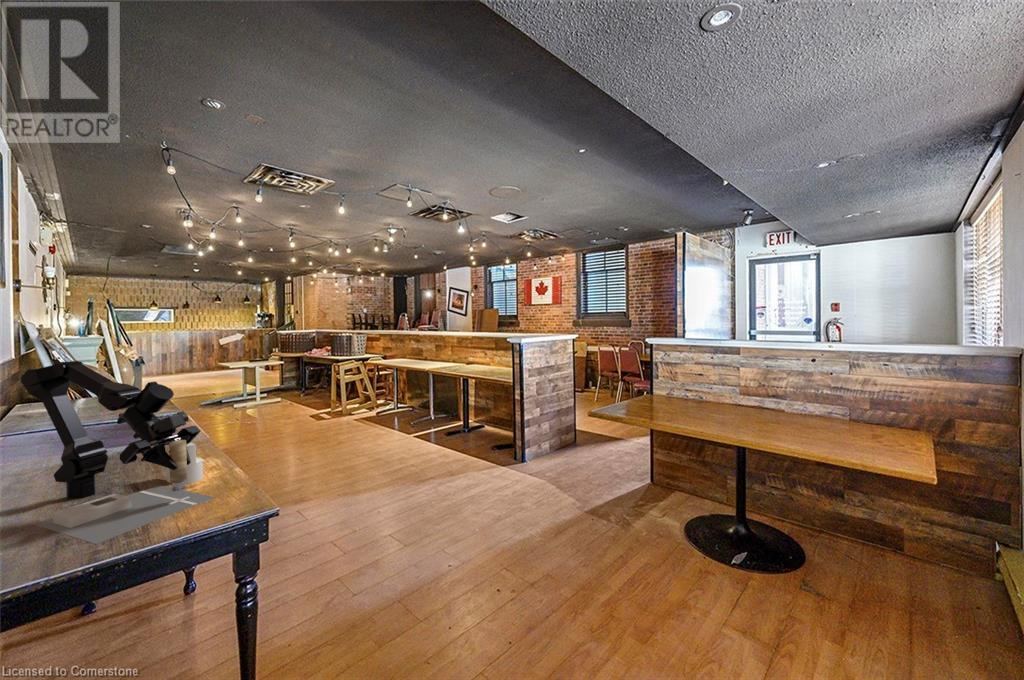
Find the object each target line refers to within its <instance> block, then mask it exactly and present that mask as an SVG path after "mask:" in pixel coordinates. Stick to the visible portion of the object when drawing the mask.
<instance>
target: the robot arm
mask: <svg viewBox="0 0 1024 680" xmlns="http://www.w3.org/2000/svg"><path fill="white" fill-rule="evenodd" d="M20 382H21V384H22V386H23V387H24V389H25V390H26V392H27V393H28V394H29V395H31V396H32V397H34V398H36V399H38V400H40V401H41V402H42V404H43V407H44V408H45V410H46V412H47V414H48V416H49V418H50V420H51V422H52V424H53V426H54V429H55V430H56V432H57V434H58V436H59V438H60V440H61V443H62V444H63V451H62V454H61V457H60V459H61V463H62V464H61V465H60V467H59V468H58V469H57V470H56V471H55V473H54V474H53V477H54V480H55V482H56V483H65V491H66V493H65V494H66V495H65V497H62V498H60V500H62V499H65V498H66V499H70V500H71V499H84V498H88V497H92V496H95V495H96V492H97V491H96V475H97V474H100V473H103V472H105V470H106V466H107V463H108V459H109V456H108V453H109V451H108V450H107V448H105V446H104V443H103V441H102V440H99V439H98V440H92V439H91V438H89V436H88V433H87V432H86V430H85V427H84V425H83V424H82V422H81V419H80V417H79V415H78V413H77V411H76V410H75V407H74V406H73V403H72V401H71V398H70V397H69V395H68V391H69V388H70V386H71V382H72V383H74V384H75V385H77V386H78V387H81V388H82V389H84V390H86V391H87V392H90V393H91V394H93V395H95V396H96V397H97V402H98V403H99V404H100V405H102V407H103V408H105V409H106V410H108V411H109V412H115V411H116V412H117V411H120V410H125V411H124V412H121V413H119V414H118V419H117V421H116V424H117V425H121V424H127V425H128V427H129V428H130V429H131V430H132V431H133V432H134V434H133V435H132V437H133V438H134V439H140V440H136V441H132V442H129V444H128V445H127V446H125V448H124V449H123V450H122V452H121V453H120V454H119V461H120V462H121V463H122V464H123V465H128V464H131V463H134V462H136V461H137V459H138V455H139V454H141V456H142V458H141V459H140V461H141V462H147V463H150V464H155V465H158V466H161V467H164V468H166V467H167V468H170V469H172V470H176V469H177V465H176V463H175V462H174V461H173V460H172V458H171V457H170V456H169V452H167V451H166V446H168V447H169V443H170V442H172V441H176V440H186V452H187V465H189V464H190V463H191V461H190V457H189V454H188V450H187V444H189V443H190V442H191V443H192V441H193V440H194V439H195V438H196V437H197V436H198V435H199V434H200V433H201V430H200V429H199V427H198V426H197V425H190V426H186V425H187V422H188V421H189V419H190V418H189V416H188V414H187V412H185V411H183V410H182V411H178V412H176V413H174V414H173V415H171V416H170V415H169V416H167V417H161V418H158V416H157V415H156V414H157V413H159V412H160V411H161V410H162V409H164V407H165V406H166V405H167V404H168V403H169V402H170V400H171V399H172V398H174V396H175V395H174V391H173V389H171V388H170V387H168V386H166V385H163V384H159V383H158V382H156V381H149V382H148V381H147V383H146V384H145V386H144V387H143V389H142V390H141V389H140V388H139V387H137V386H133V385H131V384H129V383H121V382H116V381H113V380H111V379H109V378H108V377H106V376H104V375H102V374H100V373H99V372H97V371H96V370H93V369H91V368H90V367H88V366H86V365H85V364H84V362H82V361H79V360H72V361H71V360H69V361H59V362H58V363H57V362H56V363H54V364H52V365H48V366H44V367H39V368H29V369H27V370H26V371H25V372H24V373H23V374H21V378H20ZM181 426H186V427H183V428H181V429H180V430H179V431H178V429H177V428H179V427H181ZM177 431H178V432H177ZM176 432H177V433H176ZM175 433H176V434H175ZM173 434H175V435H173Z"/></svg>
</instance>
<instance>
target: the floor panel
mask: <svg viewBox="0 0 1024 680" xmlns="http://www.w3.org/2000/svg"><path fill="white" fill-rule="evenodd" d="M125 496H126V497H130V498H131V507H130V508H127V509H124V510H121V511H118V512H115V513H112V514H109V515H106V516H104V517H101V518H98V519H95V520H92V521H89V522H86V523H83V524H80V525H77V526H74V527H72V528H68V527H65V526H62V525H58V524H55V523H53V519H50V520H47V521H44V522H43V521H42V522H41V523H40V522H39V523H38V524H36V526H38V527H41V528H44V529H48V530H50V531H53V532H56V533H60V534H62V535H66V536H69V537H73V538H75V539H78V540H82V541H84V542H88V543H90V544H94V545H97V544H99V543H102V542H105V541H108V540H110V539H113V538H115V537H118V536H120V535H123V534H125V533H128V532H131V531H133V530H136V529H139V528H140V527H143V526H146V525H149V524H152V523H153V522H156V521H159V520H161V519H164V518H166V517H167V518H168V517H169V516H172V515H175V514H178V513H180V512H182V511H184V510H187V509H190V508H192V507H195V506H197V505H200V504H203V503H205V502H208V501H210V500H213V499H215V498H216V497H215V496H211V495H208V494H207V495H206V494H202V493H197V492H192V491H187V490H185V489H183V490H180V491H172V487H170V486H165V485H161V484H160V485H157V486H153V487H149V488H147V489H143V490H141V491H137V492H135V493H132V494H128V495H125Z"/></svg>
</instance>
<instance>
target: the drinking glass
mask: <svg viewBox="0 0 1024 680" xmlns="http://www.w3.org/2000/svg"><path fill="white" fill-rule="evenodd" d="M187 450H188V454H189V457H190V461H191V463H190V464H189V465H187V479H186V486H189V485H188V484H190V485H192V484H191V483H193V484H196V483H198V482H197V481H199V480H200V479H202V478H203V479H204V458H202V457H197V448H196V443H193V442H192V441H191V442H190V443H189V444H187ZM165 469H166V471H165V472H166V473H165V474H166V482H167V483H171V484H172V482H170V468H167V467H165ZM203 479H202V480H203ZM195 482H196V483H195ZM199 482H200V481H199Z"/></svg>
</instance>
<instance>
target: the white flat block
mask: <svg viewBox="0 0 1024 680" xmlns="http://www.w3.org/2000/svg"><path fill="white" fill-rule="evenodd" d="M126 496H127V495H122V494H118V493H112V494H109V495H106V496H102V497H100V498H96V499H93V500H89V501H87V502H84V503H80V504H76V505H74V506H70V507H67V508H64V509H61V510H60V509H59V510H58V511H54V512H53V513H52V520H53V523H55V524H58V525H62V526H65V527H68V528H72V527H74V526H77V525H80V524H83V523H86V522H89V521H92V520H95V519H98V518H101V517H104V516H106V515H109V514H112V513H115V512H118V511H121V510H124V509H127V508H130V507H131V498H130V497H126Z"/></svg>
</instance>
